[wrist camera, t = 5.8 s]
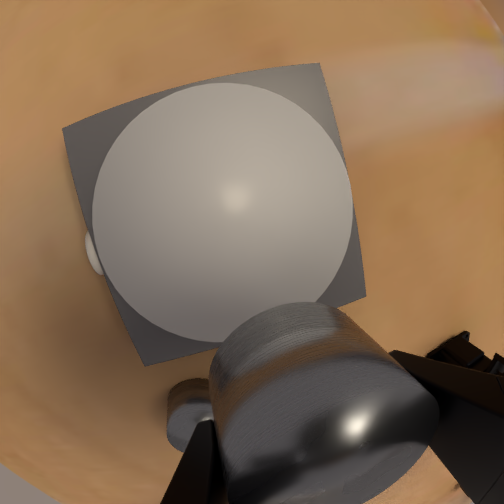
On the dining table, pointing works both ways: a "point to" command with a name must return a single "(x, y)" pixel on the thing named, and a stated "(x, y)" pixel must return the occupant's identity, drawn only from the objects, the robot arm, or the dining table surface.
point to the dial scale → (217, 206)
